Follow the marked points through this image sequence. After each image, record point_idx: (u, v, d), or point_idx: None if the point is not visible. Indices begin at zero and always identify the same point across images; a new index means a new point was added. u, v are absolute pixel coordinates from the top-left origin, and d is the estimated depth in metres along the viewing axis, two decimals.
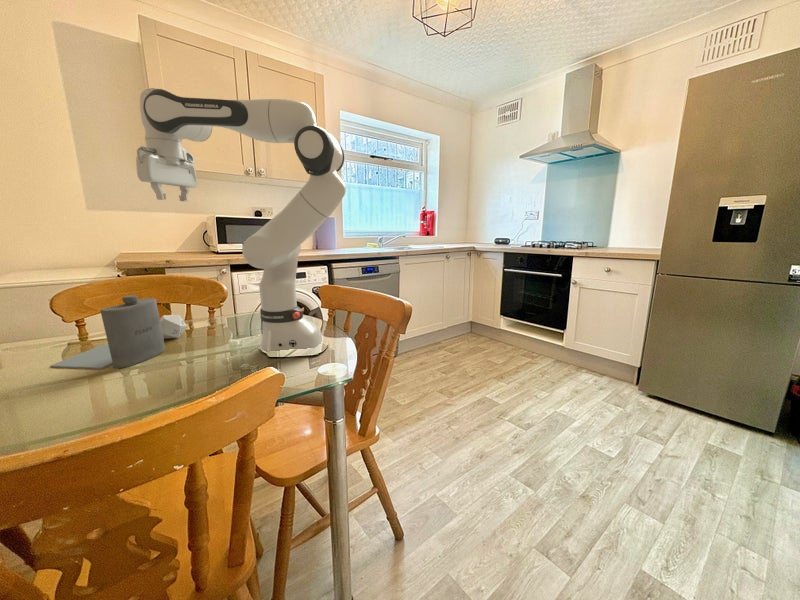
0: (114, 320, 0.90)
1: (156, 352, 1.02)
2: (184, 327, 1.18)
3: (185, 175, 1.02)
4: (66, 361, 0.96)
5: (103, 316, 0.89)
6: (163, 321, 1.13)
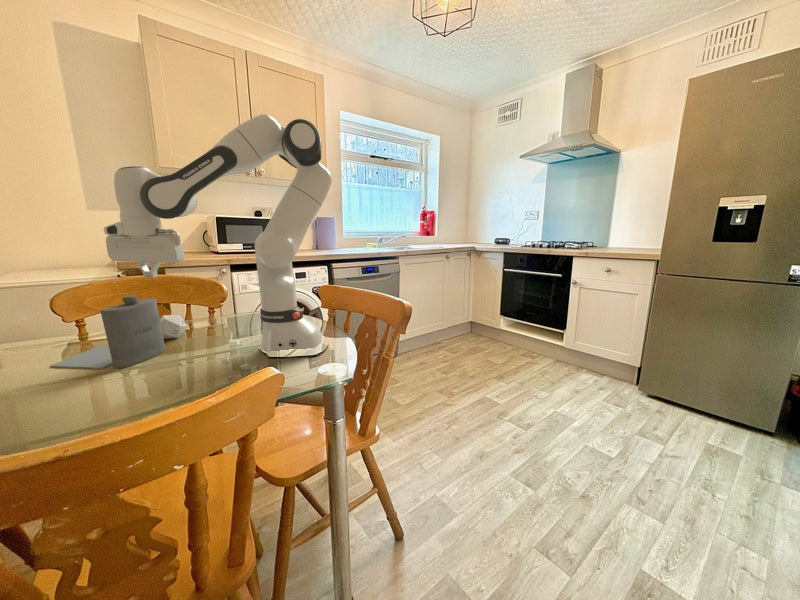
0: (114, 320, 0.90)
1: (156, 352, 1.02)
2: (184, 327, 1.18)
3: None
4: (66, 361, 0.96)
5: (103, 316, 0.89)
6: (163, 321, 1.13)
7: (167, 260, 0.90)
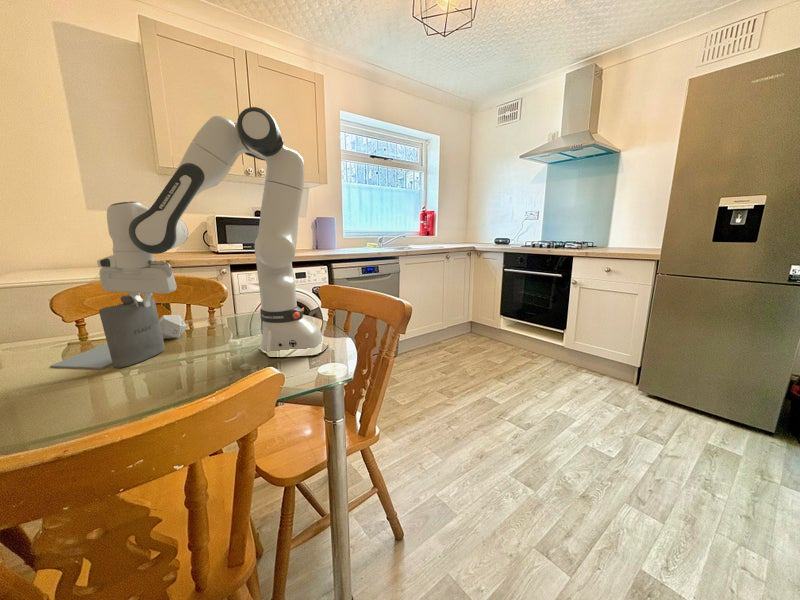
0: (113, 319, 0.90)
1: (156, 351, 1.02)
2: (184, 327, 1.18)
3: None
4: (66, 361, 0.96)
5: (101, 315, 0.89)
6: (163, 321, 1.13)
7: (159, 291, 0.92)
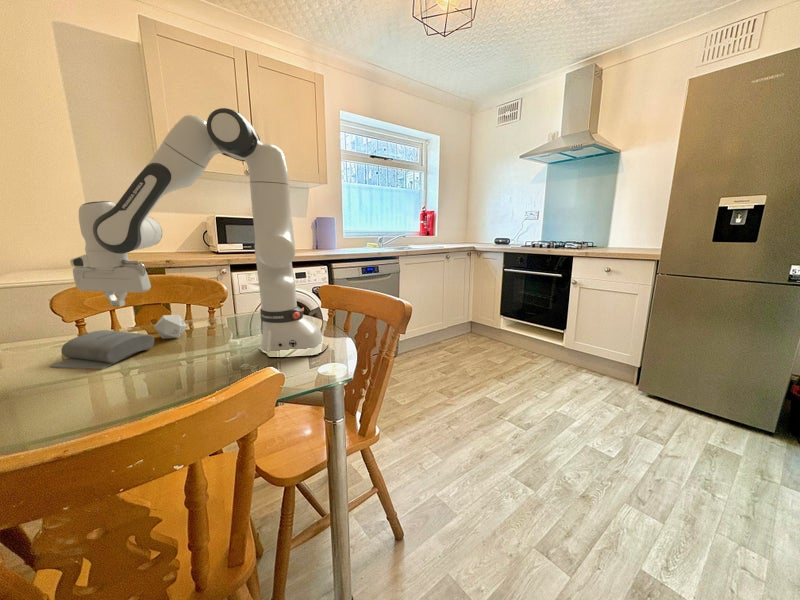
0: (71, 345, 0.96)
1: (135, 335, 1.02)
2: (184, 327, 1.18)
3: None
4: (66, 361, 0.96)
5: (64, 353, 0.96)
6: (163, 321, 1.13)
7: (133, 290, 0.93)
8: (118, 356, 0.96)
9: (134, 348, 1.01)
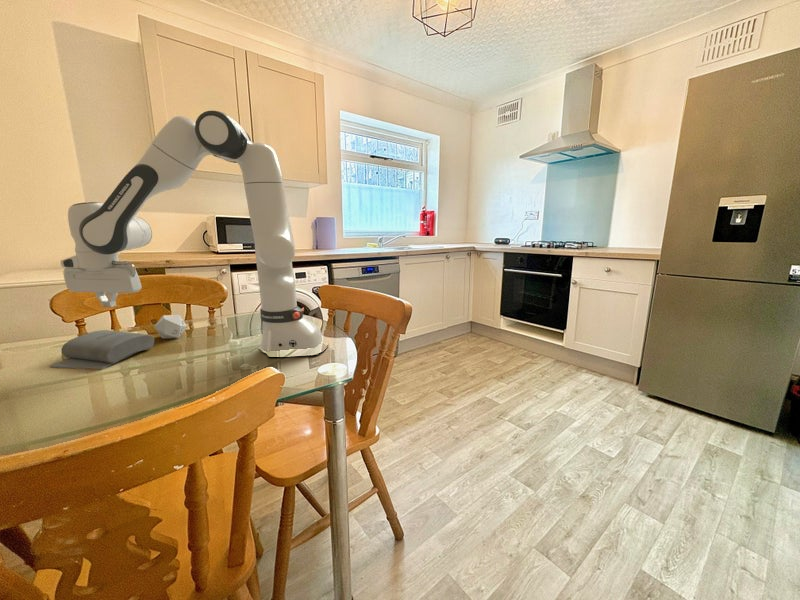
0: (71, 345, 0.96)
1: (135, 335, 1.02)
2: (184, 327, 1.18)
3: None
4: (66, 361, 0.96)
5: (64, 353, 0.96)
6: (163, 321, 1.13)
7: (123, 291, 0.93)
8: (118, 356, 0.96)
9: (134, 348, 1.01)
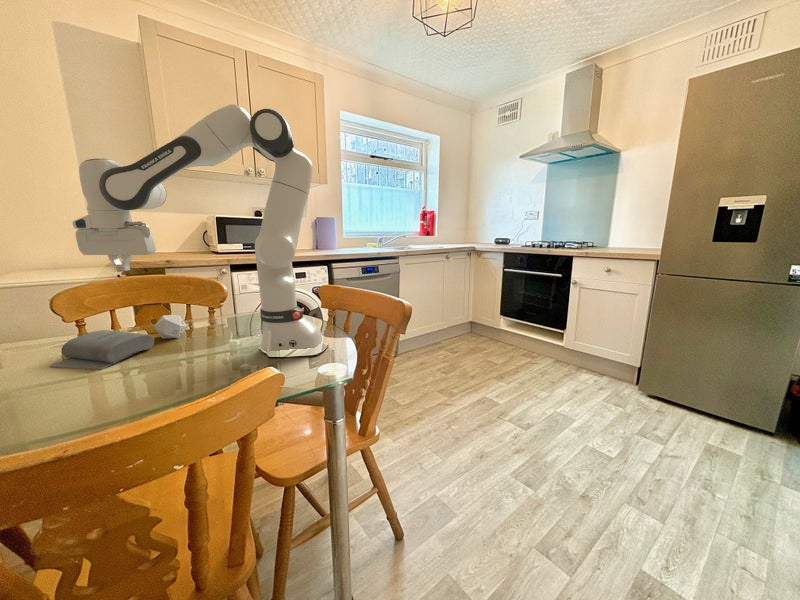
0: (71, 345, 0.96)
1: (135, 335, 1.02)
2: (184, 327, 1.18)
3: None
4: (66, 361, 0.96)
5: (64, 353, 0.96)
6: (163, 321, 1.13)
7: (138, 252, 0.90)
8: (118, 356, 0.96)
9: (134, 348, 1.01)
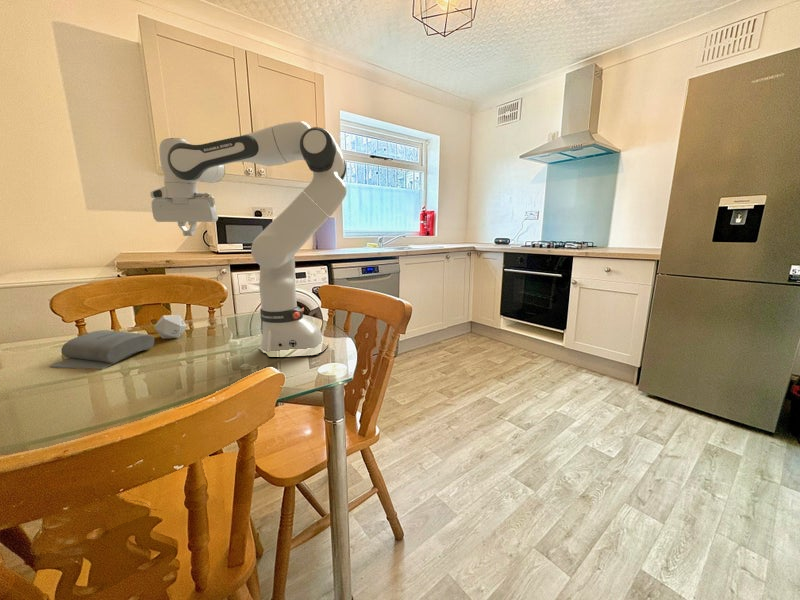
0: (71, 345, 0.96)
1: (135, 335, 1.02)
2: (184, 327, 1.18)
3: None
4: (66, 361, 0.96)
5: (64, 353, 0.96)
6: (163, 321, 1.13)
7: (204, 220, 1.05)
8: (118, 356, 0.96)
9: (134, 348, 1.01)
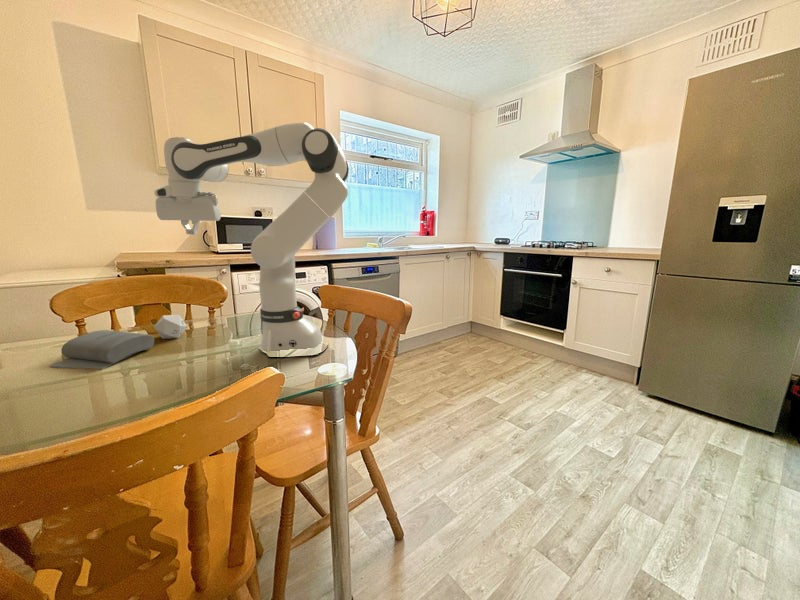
0: (71, 345, 0.96)
1: (135, 335, 1.02)
2: (184, 327, 1.18)
3: None
4: (66, 361, 0.96)
5: (64, 353, 0.96)
6: (163, 321, 1.13)
7: (207, 218, 1.06)
8: (118, 356, 0.96)
9: (134, 348, 1.01)
